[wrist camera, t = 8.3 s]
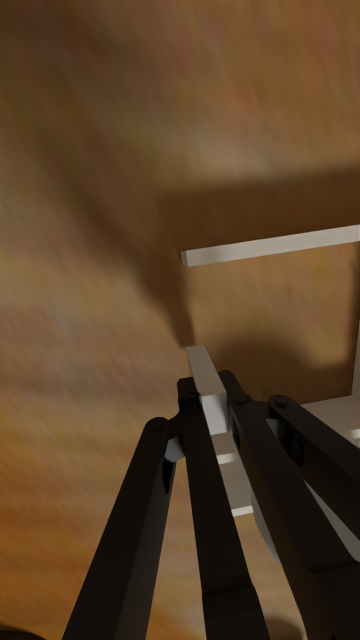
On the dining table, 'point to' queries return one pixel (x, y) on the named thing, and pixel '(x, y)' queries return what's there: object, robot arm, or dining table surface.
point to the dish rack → (338, 413)
